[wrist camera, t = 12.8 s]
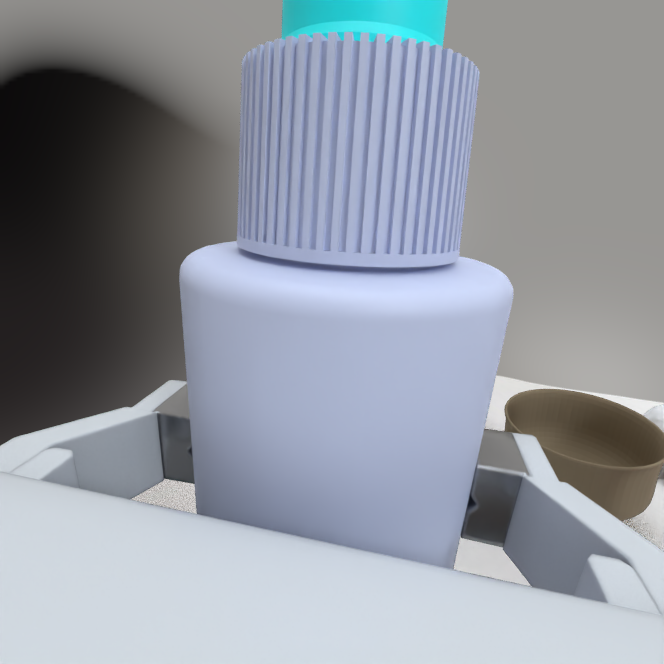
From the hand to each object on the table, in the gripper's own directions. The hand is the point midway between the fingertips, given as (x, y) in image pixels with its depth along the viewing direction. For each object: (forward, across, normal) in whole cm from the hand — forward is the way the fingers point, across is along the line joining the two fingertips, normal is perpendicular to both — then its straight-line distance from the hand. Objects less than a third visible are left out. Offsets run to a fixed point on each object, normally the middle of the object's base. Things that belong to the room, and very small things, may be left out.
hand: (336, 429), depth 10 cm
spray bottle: (-1, 0, +11) cm, 11 cm away
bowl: (+26, -18, +22) cm, 39 cm away
